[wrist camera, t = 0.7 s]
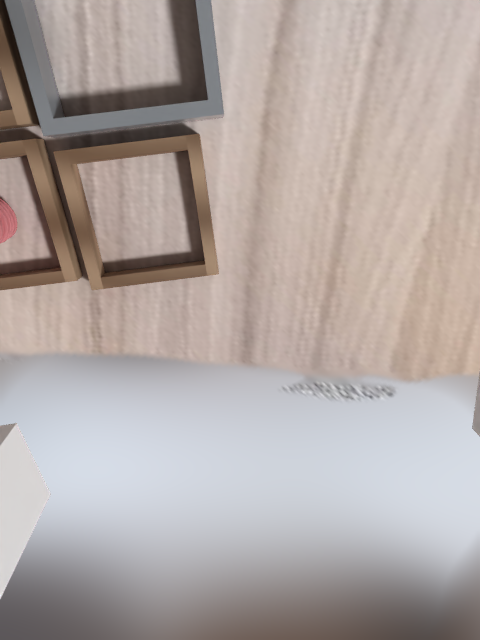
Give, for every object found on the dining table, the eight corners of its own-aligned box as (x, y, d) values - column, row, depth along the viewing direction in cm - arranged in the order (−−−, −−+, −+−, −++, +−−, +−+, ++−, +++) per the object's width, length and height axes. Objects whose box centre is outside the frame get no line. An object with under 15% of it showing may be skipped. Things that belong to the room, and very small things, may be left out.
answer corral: (-5, -86, 24) (-27, -111, 22) (197, -109, 25) (195, -136, 22) (56, 137, 30) (43, 136, 27) (223, 117, 30) (223, 114, 27)
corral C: (60, 152, 30) (53, 151, 29) (199, 134, 30) (199, 133, 29) (96, 284, 34) (91, 290, 33) (218, 269, 34) (218, 274, 33)
